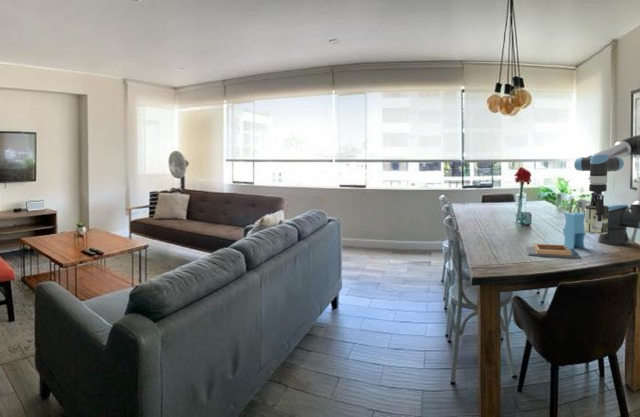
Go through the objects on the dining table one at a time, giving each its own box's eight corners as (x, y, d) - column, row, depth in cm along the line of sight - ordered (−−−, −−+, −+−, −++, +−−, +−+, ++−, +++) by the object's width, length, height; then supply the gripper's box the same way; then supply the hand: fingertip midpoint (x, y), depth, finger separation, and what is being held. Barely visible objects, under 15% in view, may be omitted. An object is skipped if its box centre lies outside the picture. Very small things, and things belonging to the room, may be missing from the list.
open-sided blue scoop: (574, 245, 238) (575, 212, 235) (584, 247, 230) (586, 213, 227) (562, 246, 236) (564, 212, 234) (572, 248, 229) (574, 214, 226)
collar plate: (573, 250, 224) (573, 245, 224) (579, 258, 209) (580, 252, 208) (525, 248, 233) (525, 243, 233) (528, 255, 218) (528, 249, 217)
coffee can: (601, 230, 216) (603, 204, 214) (611, 234, 206) (612, 207, 204) (580, 230, 218) (581, 205, 216) (589, 234, 208) (590, 207, 206)
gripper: (584, 182, 220) (582, 221, 223) (595, 185, 200) (593, 229, 203) (600, 181, 217) (598, 221, 220) (613, 185, 197) (610, 229, 200)
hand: (596, 225), depth 212 cm, fingers closed on coffee can, 10 cm apart
